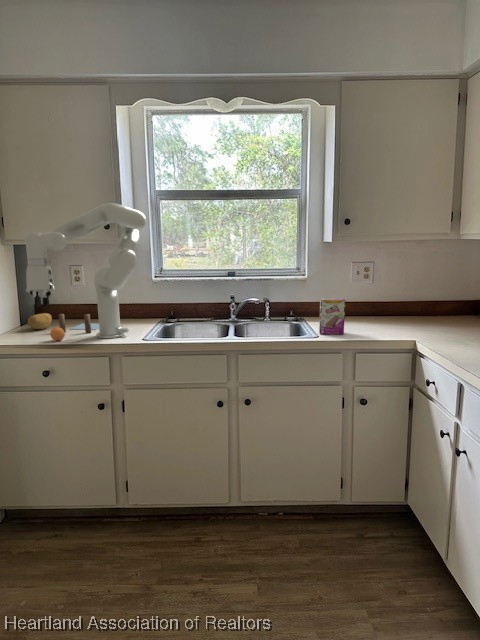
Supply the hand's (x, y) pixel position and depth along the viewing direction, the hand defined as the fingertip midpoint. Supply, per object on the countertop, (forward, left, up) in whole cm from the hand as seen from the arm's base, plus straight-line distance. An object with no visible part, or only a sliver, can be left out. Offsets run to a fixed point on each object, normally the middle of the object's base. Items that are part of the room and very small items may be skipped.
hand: (42, 306), depth 184 cm
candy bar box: (-123, -32, -17) cm, 128 cm away
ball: (0, -9, -14) cm, 17 cm away
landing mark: (0, -39, -17) cm, 43 cm away
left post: (+7, -25, -17) cm, 31 cm away
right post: (-6, -25, -17) cm, 31 cm away
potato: (+22, -32, -17) cm, 43 cm away
